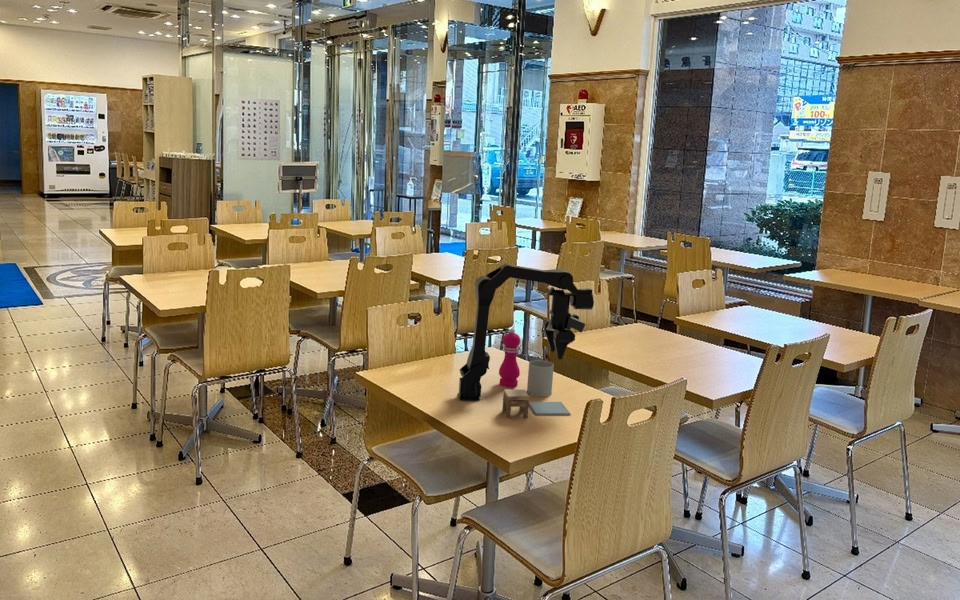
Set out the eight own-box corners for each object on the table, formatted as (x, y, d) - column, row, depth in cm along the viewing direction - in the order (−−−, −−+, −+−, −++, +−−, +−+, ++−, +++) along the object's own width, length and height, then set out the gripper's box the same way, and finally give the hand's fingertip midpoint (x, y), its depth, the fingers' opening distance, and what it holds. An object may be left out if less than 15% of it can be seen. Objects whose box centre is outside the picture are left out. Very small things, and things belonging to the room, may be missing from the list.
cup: (536, 397, 256) (538, 368, 254) (521, 390, 263) (523, 361, 261) (556, 394, 261) (558, 365, 259) (541, 387, 267) (543, 359, 265)
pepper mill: (498, 387, 264) (502, 330, 260) (497, 381, 271) (501, 325, 267) (519, 388, 264) (523, 331, 260) (518, 382, 271) (522, 326, 268)
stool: (506, 418, 234) (507, 396, 233) (502, 410, 241) (503, 389, 239) (527, 418, 235) (529, 396, 234) (523, 411, 242) (524, 389, 240)
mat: (535, 415, 239) (536, 413, 239) (527, 403, 249) (528, 401, 249) (570, 415, 241) (570, 413, 240) (561, 403, 251) (561, 401, 251)
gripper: (592, 315, 243) (588, 363, 246) (576, 303, 261) (572, 348, 264) (558, 314, 241) (554, 363, 244) (544, 302, 259) (540, 347, 262)
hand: (556, 355), depth 253 cm, fingers open, 9 cm apart
